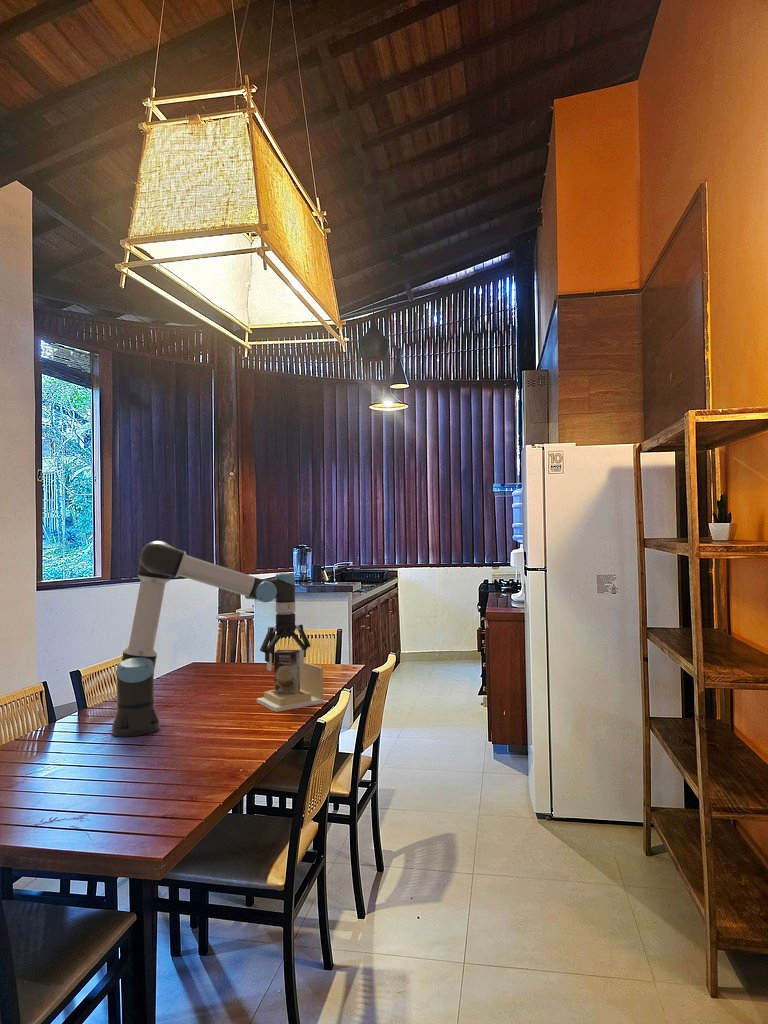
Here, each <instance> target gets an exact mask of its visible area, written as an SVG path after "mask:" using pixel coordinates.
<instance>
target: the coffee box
mask: <svg viewBox="0 0 768 1024" xmlns="http://www.w3.org/2000/svg"><path fill="white" fill-rule="evenodd" d="M273 668H274V669H273V672H274V673H273V682H274V684H273V685H274V686H273V687H274V689H273V690H274V694H297V693H298V692H299V691H300V650H299V649H277V650H275V651H274V652H273Z"/></svg>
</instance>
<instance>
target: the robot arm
mask: <svg viewBox="0 0 768 1024" xmlns="http://www.w3.org/2000/svg"><path fill="white" fill-rule="evenodd" d="M139 557H140V558H139V565H138V569H137V570H138V571H137V577H138V579H139V580H140V583H139V589H138V594H137V599H136V604H135V610H134V611H135V612H134V616H133V622H132V627H131V633H130V636H129V637H130V638H129V643H128V647H127V648H125V649H124V650H122V657H121V661H120V662H119V663H118V664H117V665H116V666H117V667H116V672H115V673H116V697H117V698H116V699H117V700H116V701H117V703H116V704H117V705H116V706H117V709H116V712H115V716H114V720H113V722H112V727H111V734H112V736H115V737H120V738H121V737H124V738H126V737H127V738H128V737H131V738H132V737H138V736H139V737H140V736H145V735H147V734H152V733H155V732H156V731H159V729H160V728H161V727H160V726H161V724H160V722H161V721H160V719H159V715H158V713H157V709H156V707H155V696H154V694H155V693H154V692H155V690H154V689H155V687H154V683H155V681H154V675H155V669H156V668H155V667H156V663H157V656H158V654H157V652H156V651H155V643H156V638H157V633H158V626H159V622H160V621H159V620H160V616H161V609H162V604H163V599H164V593H165V587H166V584H167V583H169V582H170V581H171V579H172V578H178V577H182V578H186V579H189V580H193V581H195V582H199V583H203V584H206V585H208V586H211V587H215V588H218V589H221V590H225V591H227V592H228V591H229V592H230V593H234V594H238V595H242V596H244V598H245V599H247V600H256V601H260V602H262V603H269V602H272V601H273V600H274V599H275V613H276V614H275V626H270V625H269V626H268V627H267V633H266V635H265V638H264V640H263V642H262V645H261V646H260V649H259V651H260V652H262V653H264V661H265V662H266V671H269V672H273V671H272V670H273V665H272V663H273V658H272V657H273V654H272V652H271V651H272V650H273V649H274V647H275V646H276V644H278V641H279V640H280V639H281V638H282V639H283V638H292V640H294V641H295V643H297V645H298V646H299V647H300V648H299V649H298V650H300V666H302V667H304V662H305V658H306V657H307V650H308V648H311V644H310V643H311V642H310V641H309V639H308V637H307V635H306V633H305V631H304V625H303V624H301V623H297V624H296V614H295V613H296V576H295V574H294V573H292V572H282V573H279V572H278V573H276V574H275V577H274V578H258V577H257V576H256V577H255V576H254V575H253V576H252V575H249V574H247V573H244V572H243V573H242V572H240V571H237V570H234V569H231V568H228V567H225V566H221V565H218V564H215V563H212V562H209V561H206V560H203V559H200V558H196V557H194V556H191V555H188V554H187V553H186V551H185V550H182V549H178V548H177V547H174V546H172V545H170V544H169V543H168V542H166V541H163V540H153V541H151V542H148V543H147V544H145V546H144V547H143V548H142V550H141V553H140V555H139ZM296 630H297V631H298V632H297V633H299V636H300V637H301V639H300V638H299V636H298V634H296V632H295V631H296ZM274 633H275V634H274ZM273 635H274V637H273ZM272 637H273V638H272Z"/></svg>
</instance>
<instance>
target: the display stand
mask: <svg viewBox="0 0 768 1024" xmlns="http://www.w3.org/2000/svg"><path fill="white" fill-rule="evenodd" d="M324 692H325V691H324V667H322V666H319V665H316V664H313V663H310V662H307V661H304V667H302V666H300V691H299V692H298V693H297V694H274V689H271V690H266V691H264V692H263V697H257V698H256V703H257V704H259V705H261V706H263V707H265V708H267V709H268V710H271V711H272V712H274V711H275V712H276V713H277V712H284V711H288V710H293V709H300V708H304V707H310V706H311V707H312V706H315V705H320V704H325V703H324V702H325V698H324V696H325V695H324Z"/></svg>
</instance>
